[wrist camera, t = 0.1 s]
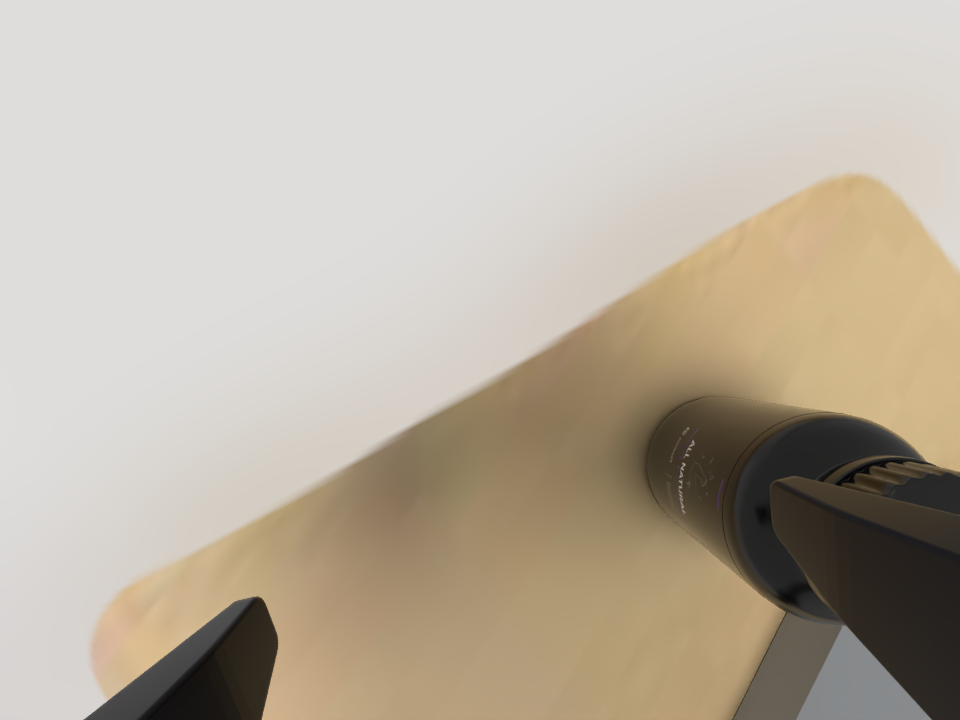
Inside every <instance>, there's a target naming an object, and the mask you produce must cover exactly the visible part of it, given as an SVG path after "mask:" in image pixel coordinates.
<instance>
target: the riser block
mask: <svg viewBox="0 0 960 720" xmlns="http://www.w3.org/2000/svg"><path fill="white" fill-rule="evenodd" d="M733 720H931V719H930V717H929V716H928V715H927V714H926V713H925V712H924V711H923V710H922V709H921V708H920V706H919V705H918V704H917V703H916V702H915V701H914V700H913V699H912V698H911V697H910V696H909V694H908V693H907V692H906V691H905V690H904V689H903V688H902V687H901V686H900V685H899V683H898V682H897V681H896V680H895V679H894V678H893V677H892V676H891V675H890V674H889V672H888V671H887V670H886V669H885V668H884V667H883V666H882V665H881V664H880V663H879V661H878V660H877V659H876V658H875V657H874V656H873V655H872V654H871V653H870V652H869V650H868V649H867V648H866V647H865V646H864V645H863V644H862V643H861V642H860V641H859V639H858V638H857V637H856V636H855V635H854V634H853V633H852V632H851V631H850V629H849V628H848V627H847V626H835V625H826V624H820V623H815V622H811V621H808V620H805V619H801V618H799V617H797V616H794V615H792V614H790V613H788V612H787V613H786V615H785V617H784V619H783V621H782V623H781V625H780V627H779V629H778V631H777V633H776V635H775V637H774V639H773V641H772V643H771V645H770V647H769V649H768V651H767V653H766V655H765V657H764V659H763V661H762V663H761V665H760V667H759V669H758V671H757V673H756V675H755V677H754V679H753V681H752V683H751V685H750V687H749V689H748V691H747V693H746V695H745V697H744V699H743V701H742V703H741V705H740V707H739V709H738V711H737V713H736V715H735V717H734V719H733Z"/></svg>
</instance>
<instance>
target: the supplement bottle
mask: <svg viewBox="0 0 960 720" xmlns="http://www.w3.org/2000/svg"><path fill="white" fill-rule="evenodd" d="M647 470H648V478H649V483H650V486H651V489H652V492H653V494H654V496H655V498H656V500H657V502H658V503H659V505H660V506H661V507H662V509H663V510H664V511H665V512H666V514H667V515H668V516H669V517H670V518H671V519H672V520H674V521H675V522H676V523H677V524H678V525H679V526H680V527H681V528H683V529H684V530H685V531H686V532H687V533H688V534H690V535H691V536H692V537H693V538H694V539H696V540H697V541H698V542H699V543H700V544H701V545H703V546H704V547H705V548H706V549H707V550H709V551H710V552H711V553H712V554H713V555H714V556H716V557H717V558H718V559H719V560H720V561H721V562H723V563H724V564H725V565H726V566H727V567H729V568H730V569H731V570H732V571H733V572H734V573H736V574H737V575H738V576H739V577H740V578H742V579H743V580H744V581H745V582H746V583H747V584H749V585H750V586H751V587H752V588H753V589H755V590H756V591H757V592H758V593H759V594H761V595H762V596H763V597H765V598H766V599H767V600H769V601H770V602H771V603H773V604H774V605H776V606H777V607H779V608H780V609H782V610H784V611H786V612H788V613H790V614H792V615H794V616H797V617H799V618H801V619H805V620H808V621H811V622H815V623H820V624H826V625H835V626H846V625H845V624H844V623H843V621H842V620H841V619H840V618H839V617H838V616H837V614H836V613H835V612H834V611H833V609H832V608H831V607H830V606H829V604H828V603H827V602H826V600H825V599H824V598H823V596H822V595H821V594H820V592H819V591H818V590H817V588H816V587H815V586H814V584H813V583H812V582H811V580H810V579H809V578H808V577H807V575H806V574H805V573H804V571H803V570H802V569H801V567H800V566H799V565H798V563H797V562H796V561H795V559H794V558H793V557H792V555H791V554H790V553H789V551H788V550H787V549H786V547H785V546H784V545H783V543H782V542H781V541H780V540H779V538H778V537H777V535H776V533H775V531H774V528H773V524H772V515H771V503H770V484H771V483H772V482H773V481H775V480H779V479H784V478H788V477H792V476H797V477H802V478H806V479H810V480H815V481H819V482H823V483H827V484H831V485H836V486H840V487H844V488H848V489H852V490H856V491H861V492H865V493H869V494H873V495H877V496H882V497H886V498H890V499H894V500H898V501H902V502H907V503H911V504H915V505H919V506H923V507H927V508H932V509H936V510H940V511H944V512H948V513H953V514H957V515H960V472H957V471H953V470H949V469H945V468H941V467H938V466H936V465H933V464H931V463H928V462H926V461H925V459H924V458H923V457H922V456H921V455H920V454H919V453H918V451H917V450H916V449H915V448H914V447H912V446H911V445H910V444H909V443H908V442H907V441H905V440H904V439H903V438H902V437H900V436H899V435H897V434H896V433H894V432H893V431H891V430H889V429H887V428H885V427H884V426H882V425H879V424H877V423H875V422H872V421H870V420H866V419H863V418H860V417H856V416H851V415H846V414H841V413H835V412H829V411H822V410H815V409H808V408H801V407H794V406H788V405H781V404H774V403H767V402H760V401H753V400H746V399H739V398H730V397H706V398H701V399H697V400H694V401H691V402H689V403H687V404H685V405H683V406H681V407H679V408H678V409H676V410H675V411H674V412H672V413H671V414H670V415H669V416H668V417H667V418H666V419H665V420H664V421H663V422H662V424H661V425H660V426H659V428H658V429H657V431H656V433H655V435H654V437H653V439H652V441H651V444H650V448H649V452H648V459H647Z"/></svg>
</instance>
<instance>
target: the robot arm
mask: <svg viewBox="0 0 960 720" xmlns="http://www.w3.org/2000/svg"><path fill="white" fill-rule="evenodd" d="M770 503H771V515H772V524H773V528H774V531H775V533H776V535H777V537H778V538H779V540H780V541H781V542H782V543H783V545H784V546H785V547H786V549H787V550H788V551H789V553H790V554H791V555H792V557H793V558H794V559H795V561H796V562H797V563H798V565H799V566H800V567H801V569H802V570H803V571H804V573H805V574H806V575H807V577H808V578H809V579H810V580H811V582H812V583H813V584H814V586H815V587H816V588H817V590H818V591H819V592H820V594H821V595H822V596H823V598H824V599H825V600H826V602H827V603H828V604H829V606H830V607H831V608H832V609H833V611H834V612H835V613H836V614H837V616H838V617H839V618H840V619H841V620H842V621H843V623H844V624H845V625H846V626H847V627H848V628H849V629H850V631H851V632H852V633H853V634H854V635H855V636H856V637H857V638H858V639H859V641H860V642H861V643H862V644H863V645H864V646H865V647H866V648H867V649H868V650H869V652H870V653H871V654H872V655H873V656H874V657H875V658H876V659H877V660H878V661H879V663H880V664H881V665H882V666H883V667H884V668H885V669H886V670H887V671H888V672H889V674H890V675H891V676H892V677H893V678H894V679H895V680H896V681H897V682H898V683H899V685H900V686H901V687H902V688H903V689H904V690H905V691H906V692H907V693H908V694H909V696H910V697H911V698H912V699H913V700H914V701H915V702H916V703H917V704H918V705H919V706H920V708H921V709H922V710H923V711H924V712H925V713H926V714H927V715H928V716H929V717H930V719H931V720H960V515H957V514H953V513H948V512H944V511H940V510H936V509H932V508H927V507H923V506H919V505H915V504H911V503H907V502H902V501H898V500H894V499H890V498H886V497H882V496H877V495H873V494H869V493H865V492H861V491H856V490H852V489H848V488H844V487H840V486H836V485H831V484H827V483H823V482H819V481H815V480H810V479H806V478H802V477H797V476H792V477H788V478H784V479H779V480H775V481H773V482H772V483H771V484H770ZM277 650H278V636H277V632H276V630H275V627H274V625H273V622H272V619H271V617H270V614H269V612H268V609H267V606H266V604H265V602H264V600H263V599H262V598H260V597H252V598H247V599H243V600H238V601H236V602H234V603H232V604H231V605H230V606H229V607H227V608H226V609H225V610H224V611H222V612H221V613H220V614H218V615H217V616H216V617H215V618H213V619H212V620H211V621H209V622H208V623H207V624H206V625H204V626H203V627H202V628H200V629H199V630H198V631H197V632H195V633H194V634H193V635H192V636H190V637H189V638H188V639H186V640H185V641H184V642H183V643H181V644H180V645H179V646H177V647H176V648H175V649H174V650H172V651H171V652H170V653H168V654H167V655H166V656H165V657H163V658H162V659H161V660H160V661H158V662H157V663H156V664H154V665H153V666H152V667H151V668H149V669H148V670H147V671H145V672H144V673H143V674H142V675H140V676H139V677H138V678H136V679H135V680H134V681H133V682H131V683H130V684H129V685H128V686H126V687H125V688H124V689H122V690H121V691H120V692H119V693H117V694H116V695H115V696H113V697H112V698H111V699H110V700H108V701H107V702H106V703H105V704H103V705H102V706H101V707H99V708H98V709H97V710H96V711H94V712H93V713H92V714H91V715H89V716H88V717H87V718H85V719H84V720H262V716H263V711H264V707H265V703H266V698H267V694H268V690H269V685H270V681H271V677H272V672H273V668H274V664H275V659H276V655H277Z"/></svg>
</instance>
